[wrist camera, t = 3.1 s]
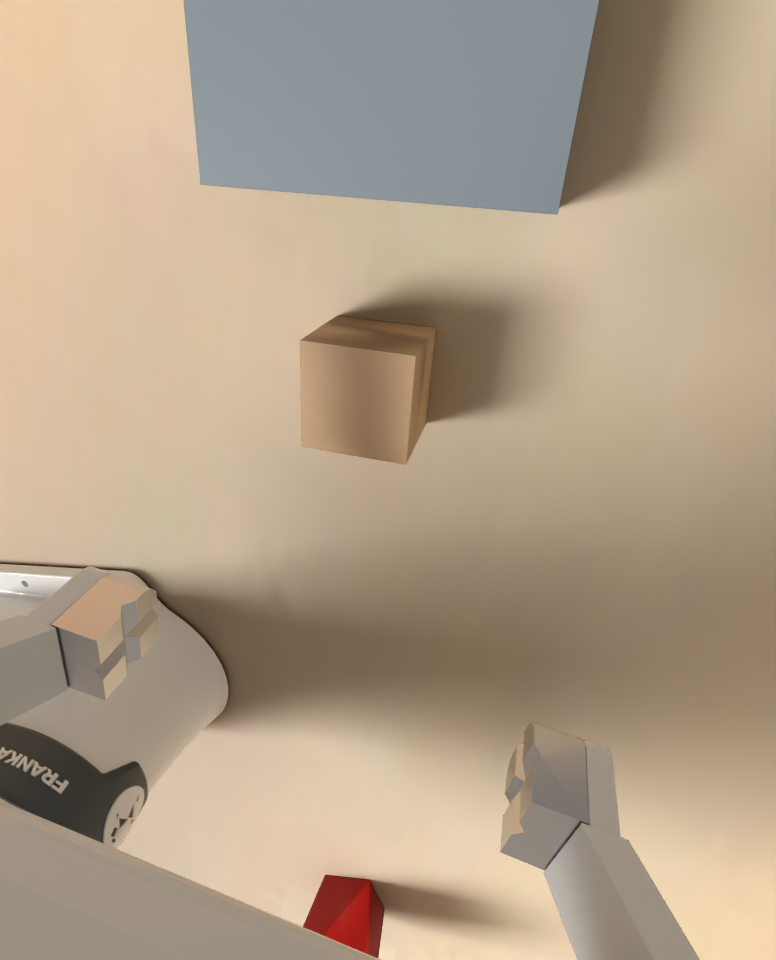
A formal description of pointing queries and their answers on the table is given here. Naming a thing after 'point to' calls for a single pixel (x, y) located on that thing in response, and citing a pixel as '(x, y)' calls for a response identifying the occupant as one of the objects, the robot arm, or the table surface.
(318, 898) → the french fries
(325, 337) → the walnut cube
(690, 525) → the table surface
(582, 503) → the table surface
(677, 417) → the table surface
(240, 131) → the slate plinth
